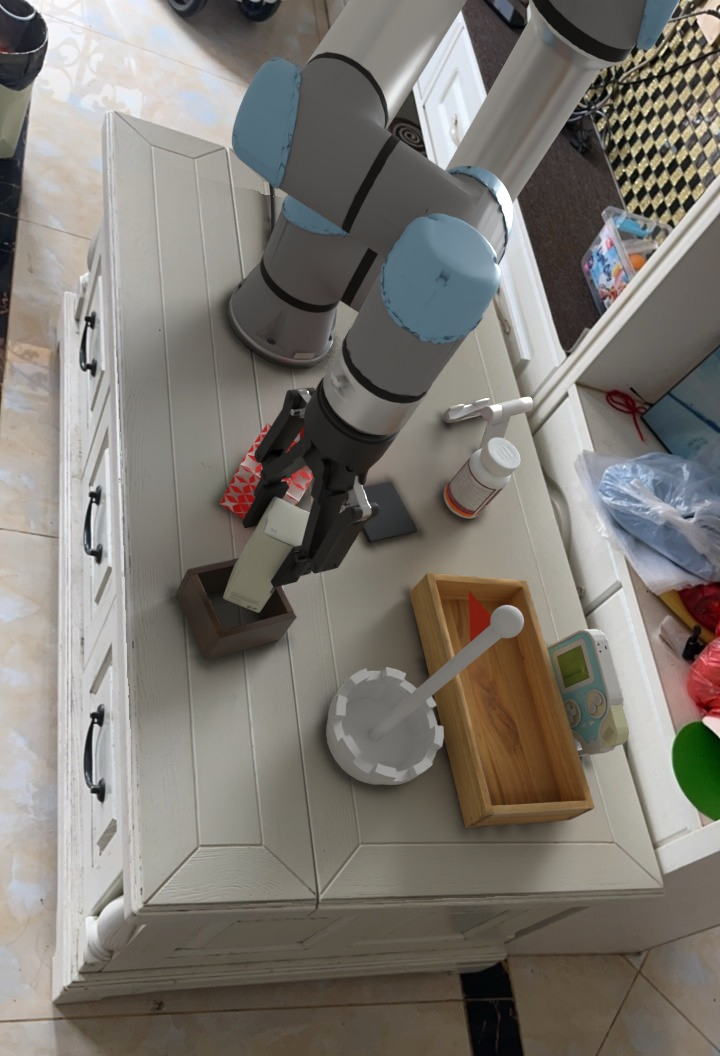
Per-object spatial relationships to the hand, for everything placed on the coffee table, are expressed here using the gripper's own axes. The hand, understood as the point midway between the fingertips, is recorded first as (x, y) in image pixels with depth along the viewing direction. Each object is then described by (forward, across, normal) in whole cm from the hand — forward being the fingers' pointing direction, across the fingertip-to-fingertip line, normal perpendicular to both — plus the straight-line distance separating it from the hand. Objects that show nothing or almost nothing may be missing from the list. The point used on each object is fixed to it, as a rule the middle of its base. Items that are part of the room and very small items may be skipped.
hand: (269, 551), depth 89 cm
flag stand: (+14, +19, +10) cm, 25 cm away
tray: (+14, +20, +27) cm, 36 cm away
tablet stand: (+14, -19, +51) cm, 56 cm away
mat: (+14, -9, +27) cm, 31 cm away
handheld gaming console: (+14, +24, +38) cm, 47 cm away
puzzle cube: (+14, -14, +11) cm, 22 cm away
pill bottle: (+14, -8, +41) cm, 44 cm away
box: (+8, 0, 0) cm, 8 cm away
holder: (+14, 0, 0) cm, 14 cm away
